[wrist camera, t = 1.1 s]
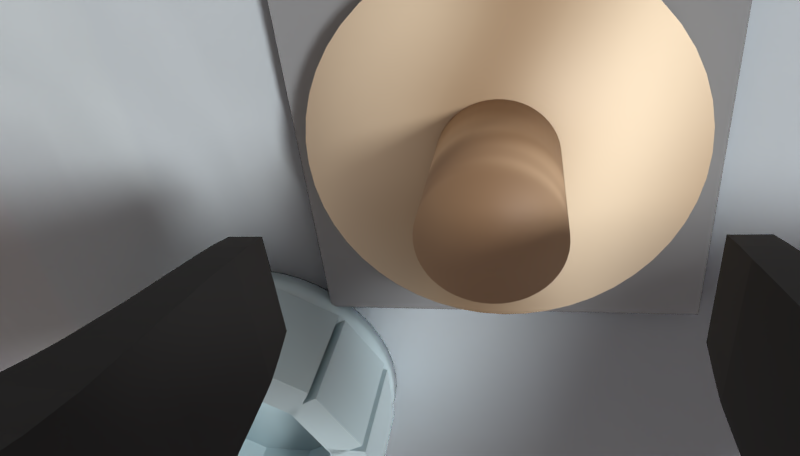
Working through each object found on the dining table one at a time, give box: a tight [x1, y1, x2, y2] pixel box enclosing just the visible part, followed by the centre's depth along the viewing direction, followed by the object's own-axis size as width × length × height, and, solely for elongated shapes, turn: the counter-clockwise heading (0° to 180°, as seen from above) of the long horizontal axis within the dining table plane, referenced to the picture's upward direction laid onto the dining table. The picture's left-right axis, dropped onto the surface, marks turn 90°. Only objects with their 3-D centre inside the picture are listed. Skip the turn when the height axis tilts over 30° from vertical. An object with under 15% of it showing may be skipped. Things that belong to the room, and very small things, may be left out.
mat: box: [267, 0, 752, 315], centre depth 15 cm, size 10×10×1 cm
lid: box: [306, 0, 715, 314], centre depth 13 cm, size 9×9×4 cm
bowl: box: [238, 272, 396, 456], centre depth 19 cm, size 8×8×4 cm
